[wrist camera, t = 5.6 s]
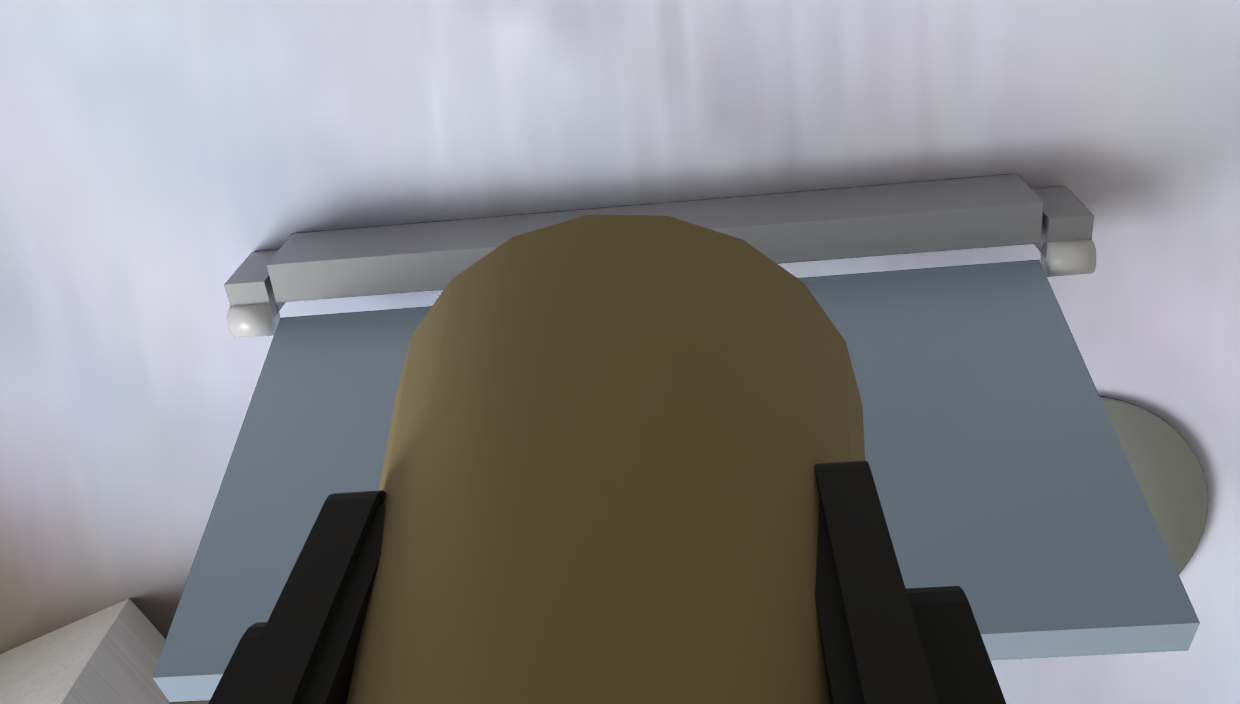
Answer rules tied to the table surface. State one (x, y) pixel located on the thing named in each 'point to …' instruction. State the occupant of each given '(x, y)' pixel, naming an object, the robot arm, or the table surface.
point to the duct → (763, 221)
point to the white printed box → (87, 662)
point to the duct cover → (894, 447)
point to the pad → (1163, 476)
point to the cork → (609, 477)
